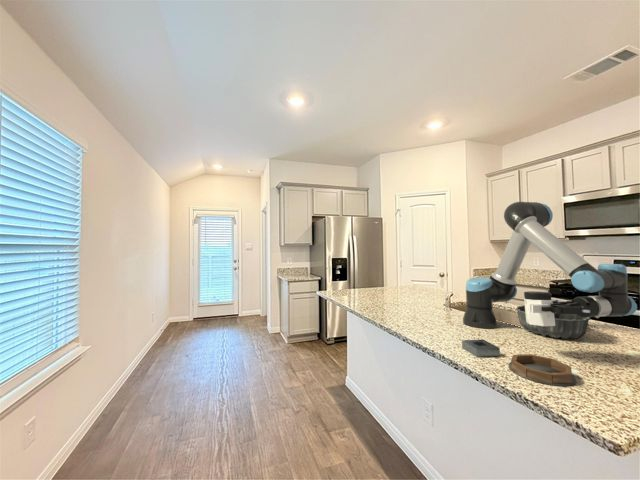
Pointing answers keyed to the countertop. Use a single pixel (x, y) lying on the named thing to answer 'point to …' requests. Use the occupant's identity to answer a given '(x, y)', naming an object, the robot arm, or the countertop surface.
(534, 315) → the jar
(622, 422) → the countertop surface
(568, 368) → the brown octagonal tray
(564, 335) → the bundt pan
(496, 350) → the square socket
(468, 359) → the countertop surface
